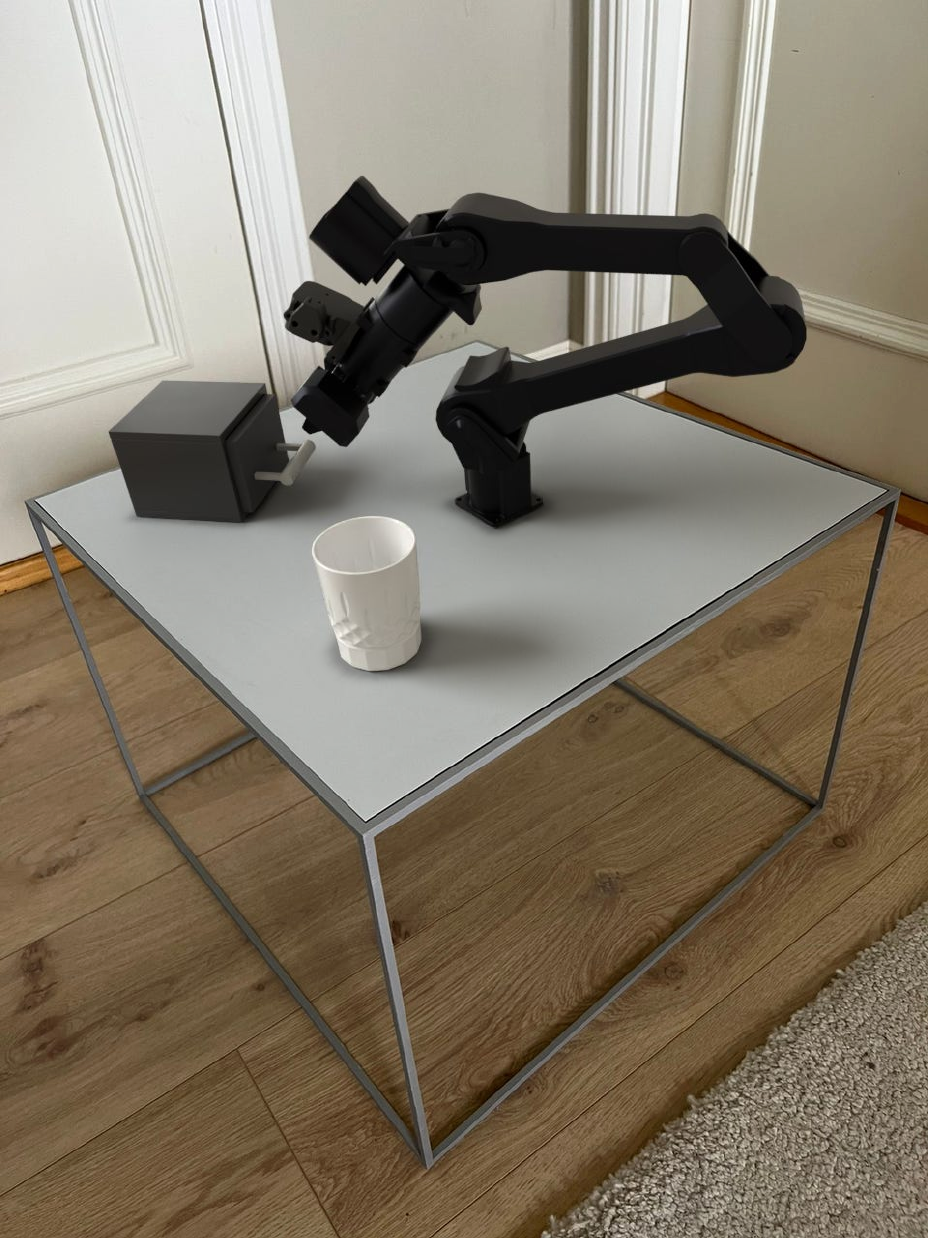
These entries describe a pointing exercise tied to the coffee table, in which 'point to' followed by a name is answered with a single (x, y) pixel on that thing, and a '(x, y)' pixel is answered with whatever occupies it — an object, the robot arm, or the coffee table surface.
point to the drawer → (263, 453)
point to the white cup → (371, 590)
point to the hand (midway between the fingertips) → (306, 429)
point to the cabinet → (184, 449)
